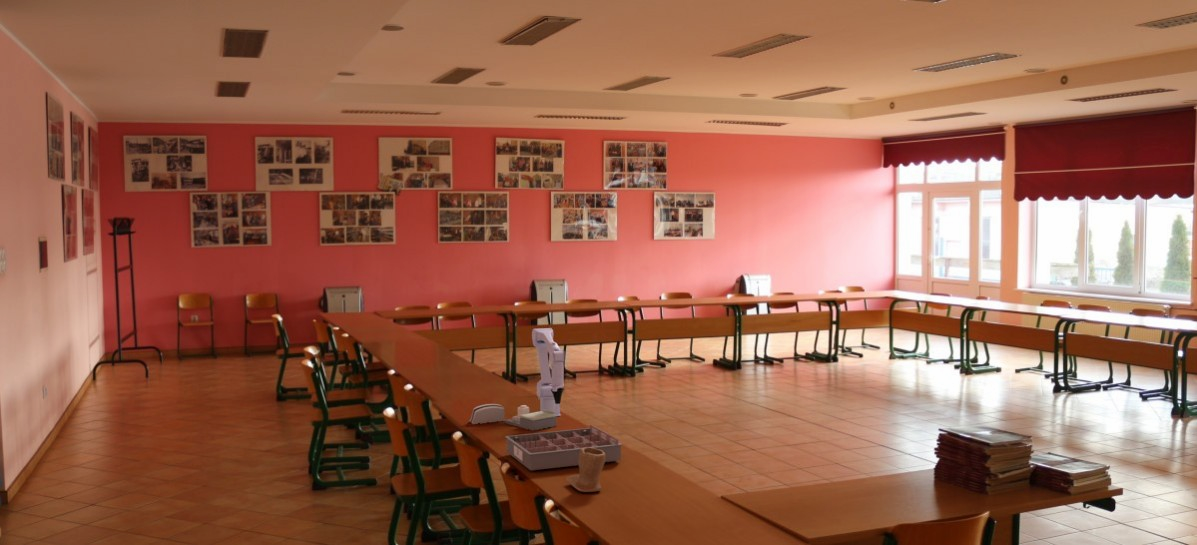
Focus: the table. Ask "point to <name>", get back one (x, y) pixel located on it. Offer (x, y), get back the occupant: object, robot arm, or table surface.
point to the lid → (538, 415)
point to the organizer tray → (561, 447)
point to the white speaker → (487, 414)
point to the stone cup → (588, 470)
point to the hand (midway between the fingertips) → (557, 403)
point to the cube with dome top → (523, 410)
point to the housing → (532, 423)
